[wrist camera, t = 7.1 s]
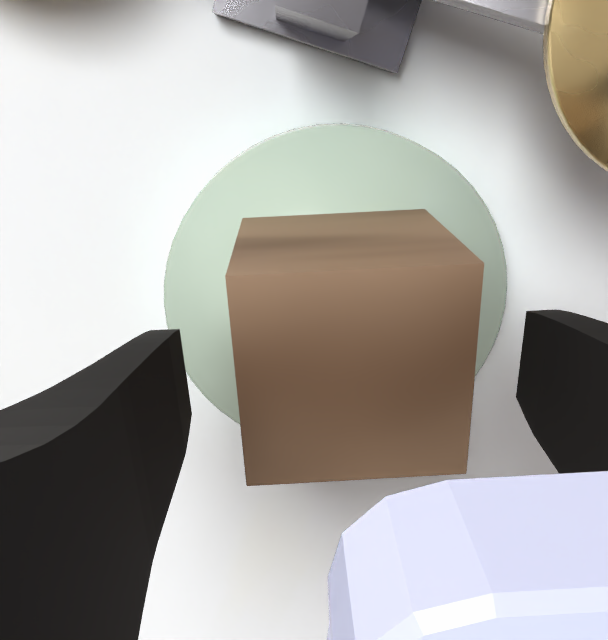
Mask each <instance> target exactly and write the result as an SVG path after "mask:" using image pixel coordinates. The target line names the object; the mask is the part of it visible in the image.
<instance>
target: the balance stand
mask: <svg viewBox="0 0 608 640" xmlns="http://www.w3.org/2000/svg"><path fill="white" fill-rule="evenodd" d="M420 3H421V0H215V2H214V7H213V11H212V12H213V13H214V14H216V15H219V16H222V17H225V18H228V19H231V20H234V21H238V22H241V23H244V24H247V25H250V26H253V27H256V28H259V29H262V30H265V31H268V32H271V33H274V34H277V35H280V36H283V37H286V38H289V39H292V40H295V41H298V42H301V43H304V44H308V45H311V46H314V47H317V48H320V49H323V50H326V51H329V52H332V53H335V54H338V55H341V56H344V57H347V58H350V59H353V60H356V61H359V62H362V63H365V64H368V65H371V66H374V67H378V68H381V69H384V70H387V71H390V72H393V73H398V70H399V67H400V64H401V61H402V58H403V55H404V52H405V49H406V46H407V43H408V40H409V36H410V33H411V30H412V27H413V24H414V21H415V18H416V15H417V12H418V9H419V6H420Z"/></svg>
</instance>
